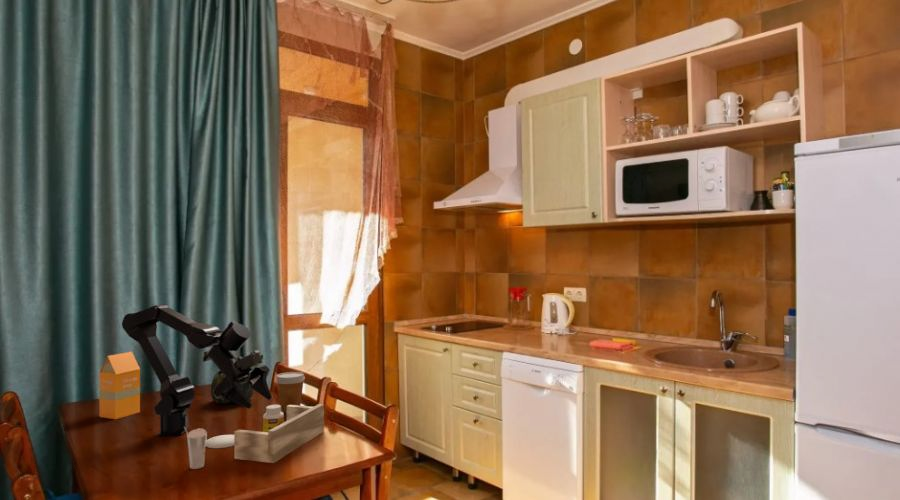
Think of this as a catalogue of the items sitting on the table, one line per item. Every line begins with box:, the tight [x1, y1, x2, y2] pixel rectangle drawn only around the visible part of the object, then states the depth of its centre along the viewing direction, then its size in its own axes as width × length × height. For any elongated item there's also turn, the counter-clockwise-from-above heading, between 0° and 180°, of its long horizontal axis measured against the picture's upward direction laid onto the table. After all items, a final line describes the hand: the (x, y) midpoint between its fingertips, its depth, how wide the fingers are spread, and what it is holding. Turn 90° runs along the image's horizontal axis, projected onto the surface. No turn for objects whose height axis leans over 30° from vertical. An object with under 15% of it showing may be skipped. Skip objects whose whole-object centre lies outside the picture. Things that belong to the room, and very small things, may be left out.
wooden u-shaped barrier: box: [233, 403, 325, 464], centre depth 152 cm, size 12×26×8 cm, turn 164°
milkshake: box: [184, 426, 208, 470], centre depth 136 cm, size 4×5×10 cm
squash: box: [210, 371, 255, 405], centre depth 196 cm, size 14×15×15 cm
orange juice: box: [98, 351, 141, 420], centre depth 181 cm, size 8×9×20 cm
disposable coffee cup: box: [275, 371, 306, 414], centre depth 184 cm, size 10×10×12 cm
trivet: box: [205, 434, 234, 449], centre depth 154 cm, size 10×10×1 cm
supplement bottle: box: [262, 404, 285, 432], centre depth 153 cm, size 6×6×10 cm
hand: (260, 403), depth 154 cm, fingers open, 9 cm apart
